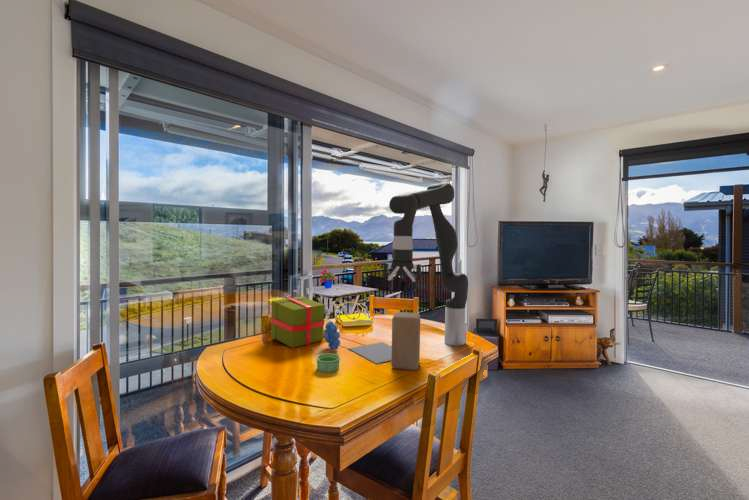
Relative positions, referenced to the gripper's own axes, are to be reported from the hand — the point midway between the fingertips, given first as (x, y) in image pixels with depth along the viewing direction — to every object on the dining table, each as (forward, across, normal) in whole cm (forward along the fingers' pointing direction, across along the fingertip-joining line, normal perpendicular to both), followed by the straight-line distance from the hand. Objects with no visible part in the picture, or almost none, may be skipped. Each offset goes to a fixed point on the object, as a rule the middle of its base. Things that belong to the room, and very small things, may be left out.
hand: (402, 290), depth 140 cm
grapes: (+30, +35, -11) cm, 47 cm away
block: (+30, -1, -3) cm, 30 cm away
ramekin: (+30, +26, +10) cm, 41 cm away
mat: (+30, +13, -14) cm, 35 cm away
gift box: (+30, +57, -18) cm, 67 cm away
